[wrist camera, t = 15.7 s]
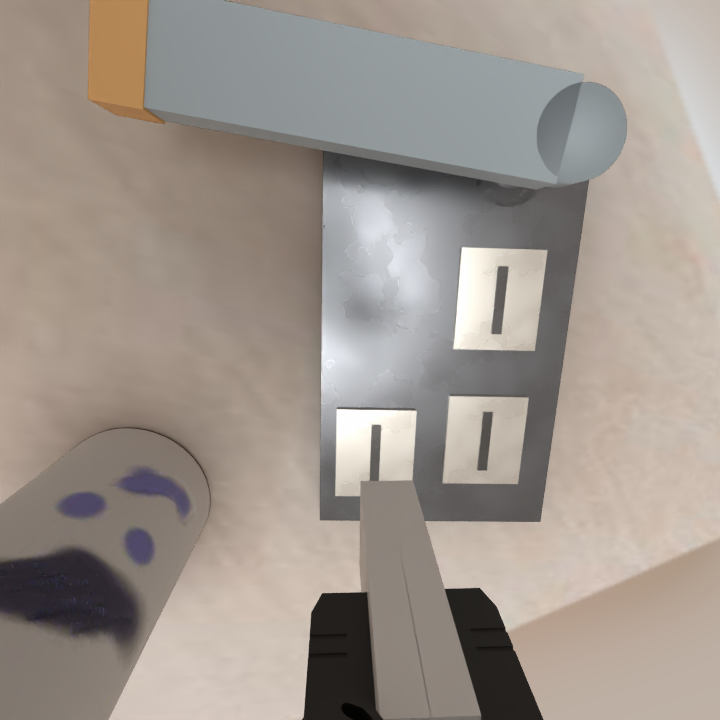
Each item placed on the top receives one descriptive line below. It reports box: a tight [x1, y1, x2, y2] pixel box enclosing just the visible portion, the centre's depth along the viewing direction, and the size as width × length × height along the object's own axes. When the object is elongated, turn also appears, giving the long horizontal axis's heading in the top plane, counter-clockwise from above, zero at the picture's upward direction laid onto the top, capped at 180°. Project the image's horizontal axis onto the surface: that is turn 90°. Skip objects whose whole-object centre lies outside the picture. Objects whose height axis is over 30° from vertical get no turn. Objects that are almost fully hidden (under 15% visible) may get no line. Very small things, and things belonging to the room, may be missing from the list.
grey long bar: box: [88, 0, 627, 190], centre depth 18 cm, size 21×4×2 cm, turn 81°
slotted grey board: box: [320, 150, 589, 522], centre depth 28 cm, size 24×15×2 cm, turn 178°
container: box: [0, 428, 210, 720], centre depth 21 cm, size 10×10×20 cm
